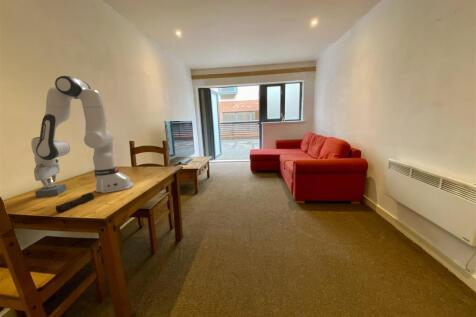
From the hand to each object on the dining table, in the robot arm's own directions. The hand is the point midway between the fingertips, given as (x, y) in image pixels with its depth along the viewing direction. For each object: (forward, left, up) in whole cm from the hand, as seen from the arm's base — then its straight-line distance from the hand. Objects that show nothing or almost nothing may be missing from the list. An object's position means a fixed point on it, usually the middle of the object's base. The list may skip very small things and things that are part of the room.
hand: (50, 183), depth 130 cm
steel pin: (0, 0, -7) cm, 7 cm away
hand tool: (-24, +29, -7) cm, 39 cm away
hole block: (0, 0, -7) cm, 7 cm away
